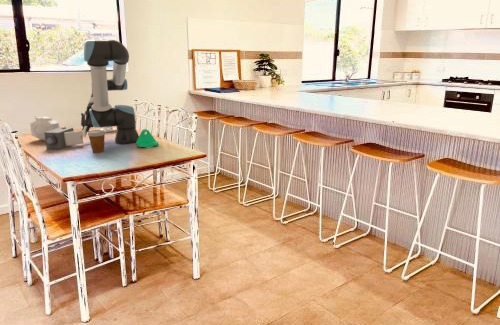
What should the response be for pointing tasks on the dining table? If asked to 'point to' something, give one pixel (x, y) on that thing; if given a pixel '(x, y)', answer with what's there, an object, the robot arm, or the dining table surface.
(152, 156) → the dining table surface
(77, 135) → the side door
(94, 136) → the disposable coffee cup
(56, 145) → the box
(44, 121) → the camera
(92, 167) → the dining table surface
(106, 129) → the white piece
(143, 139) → the green triangular piece
